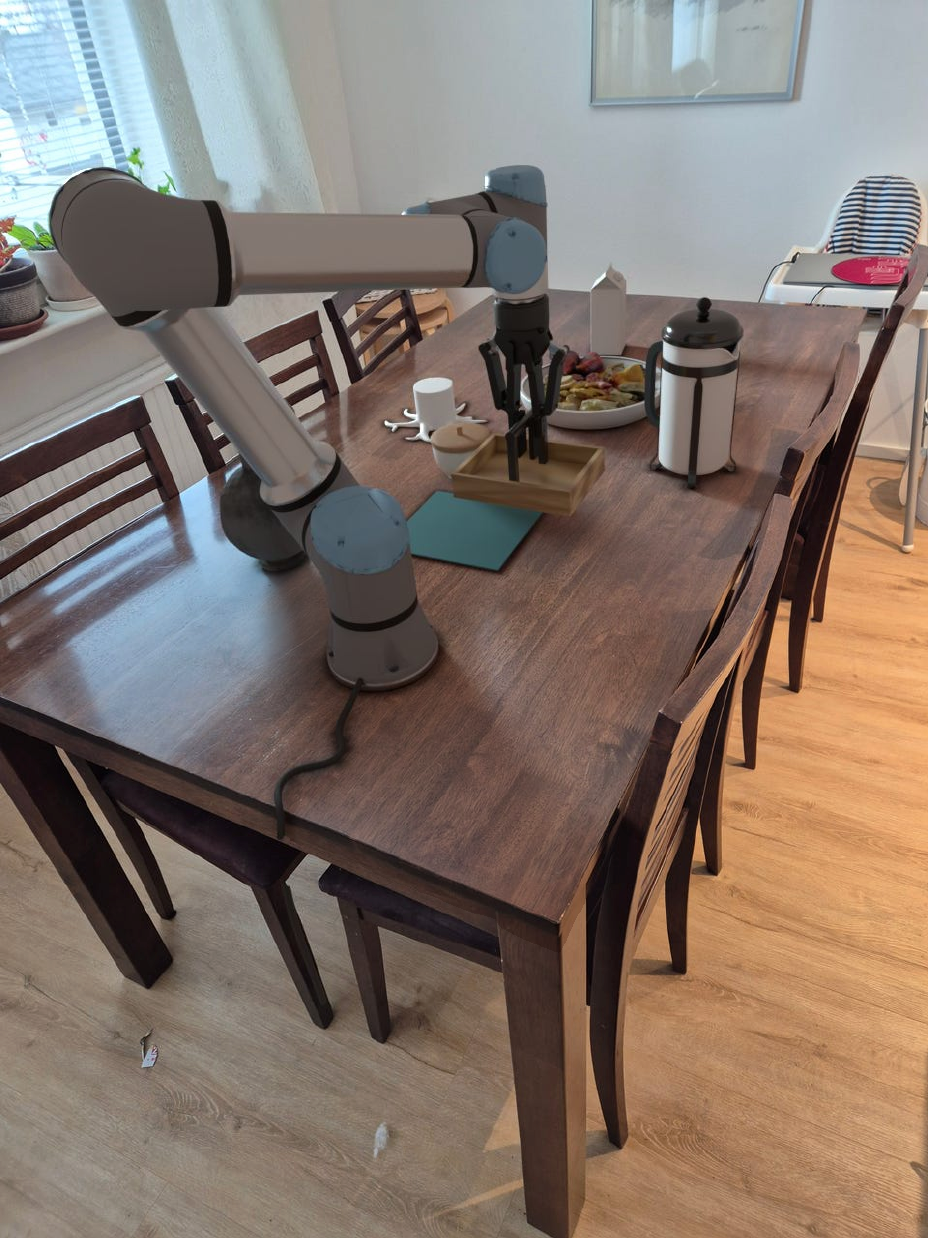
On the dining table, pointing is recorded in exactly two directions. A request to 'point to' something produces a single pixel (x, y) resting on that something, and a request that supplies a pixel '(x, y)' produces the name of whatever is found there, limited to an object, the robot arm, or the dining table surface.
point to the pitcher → (256, 522)
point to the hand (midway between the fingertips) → (528, 454)
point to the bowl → (597, 392)
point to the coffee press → (695, 390)
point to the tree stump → (433, 408)
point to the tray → (529, 473)
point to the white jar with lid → (456, 444)
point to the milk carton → (608, 313)
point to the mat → (468, 531)
